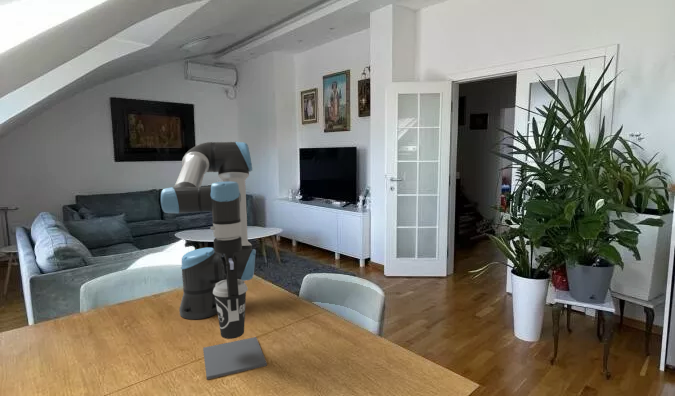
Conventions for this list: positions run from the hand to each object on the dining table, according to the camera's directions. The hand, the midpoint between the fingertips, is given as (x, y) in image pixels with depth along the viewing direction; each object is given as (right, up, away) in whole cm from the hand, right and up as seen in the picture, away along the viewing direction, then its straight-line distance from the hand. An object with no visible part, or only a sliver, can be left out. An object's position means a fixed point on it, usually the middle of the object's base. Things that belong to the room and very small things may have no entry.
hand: (231, 313), depth 107 cm
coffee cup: (0, -6, +1) cm, 6 cm away
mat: (0, -14, +2) cm, 14 cm away
